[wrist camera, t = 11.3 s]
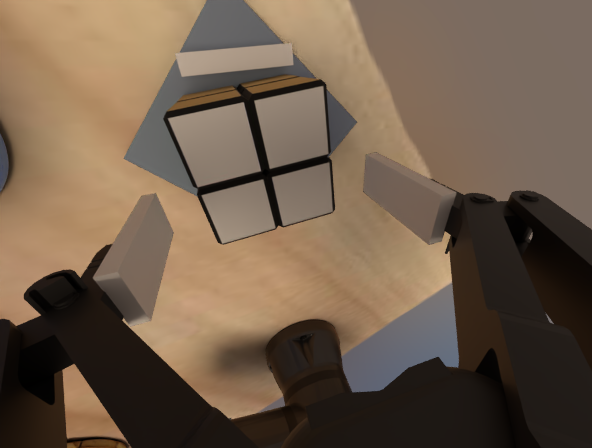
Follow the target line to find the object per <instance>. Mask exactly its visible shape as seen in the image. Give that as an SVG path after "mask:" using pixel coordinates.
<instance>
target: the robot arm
mask: <svg viewBox="0 0 592 448" xmlns="http://www.w3.org/2000/svg"><path fill="white" fill-rule="evenodd" d="M363 192H364V193H365V194H367V195H368V196H369V197H370V198H372V199H373V200H374V201H375V202H376V203H378V204H379V205H380V206H381V207H383V208H384V209H385V210H386V211H388V212H389V213H390V214H391V215H392V216H394V217H395V218H396V219H397V220H399V221H400V222H401V223H402V224H404V225H405V226H406V227H407V228H409V229H410V230H411V231H412V232H413V233H415V234H416V235H417V236H418V237H420V238H421V239H422V240H423V241H425V242H426V243H427V244H428V245H430V244H434V243H437V242H441V241H442V239H443V235H444V232H445V231H446V232H447V233H449V234H450V235H451V236H450V239H449V242H448V245H447V248H446V251H445V254H447V253H448V251H450V262H451V274H452V285H453V295H454V306H455V317H456V329H457V341H458V352H459V366H458V368H457V367H446V366H445V365H444V364H443V362H442V361H441V359H440V358H439V357H436V358H434V359H431V360H428V361H425V362H423V363H420V364H417V365H415V366H412V367H409V368H408V369H406V370H405V371H404V372H403V373H402V374H401V375H400V376H398V377H397V378H396V379H395V380H394V381H392V382H391V383H390V384H389V385H388V386H386V387H385V388H384V389H383V390H380V391H372V392H354V393H352V391H351V388H350V386H349V383H348V381H347V379H346V376H345V374H344V371H343V366H342V358H341V351H340V341H339V337H338V335H337V333H336V330H335V328H334V327H333V326H332V325H331V324H330V323H328V322H325V321H320V320H310V321H304V322H300V323H297V324H294V325H292V326H289V327H287V328H286V329H284V330H282V331H281V332H279V333H278V334H277V335H276V336H274V337H273V338H272V340H271V341H270V342H269V344H268V345H267V348H266V359H267V364H268V367H269V369H270V371H271V372H272V373H273V375H274V378H275V380H276V382H277V384H278V386H279V388H280V390H281V391H282V393H283V397H284V401H285V406H284V407H280V408H276V409H272V410H268V411H264V412H261V413H256V414H252V415H248V416H244V417H240V418H236V419H231V418H227V417H226V416H225V415H224V414H223V413H222V412H221V411H220V410H218V409H217V408H215V407H212V406H211V405H209V404H208V403H207V402H206V401H205V400H204V399H203V398H202V397H201V396H200V395H199V394H198V393H197V392H196V391H195V390H194V389H193V388H192V387H191V386H190V385H188V384H187V383H186V382H185V381H184V380H183V379H182V378H181V377H180V376H179V375H178V374H177V373H176V372H175V371H174V370H173V369H172V368H171V367H170V366H169V365H168V364H167V363H166V362H165V361H164V360H163V359H161V358H160V357H159V356H158V355H157V354H156V353H155V352H154V351H153V350H152V349H151V348H150V347H149V346H148V345H147V344H146V343H145V342H144V341H143V340H142V339H141V338H140V337H139V336H138V335H137V334H136V333H134V332H133V331H132V330H131V329H130V328H129V327H128V326H127V325H126V324H125V323H124V322H123V321H122V320H123V318H124V319H125V320H126V322H127V323H128V324H129V326H130V327H131V326H135V325H138V324H142V323H145V322H149V321H151V318H152V314H153V311H154V307H155V303H156V299H157V295H158V291H159V287H160V283H161V280H162V276H163V272H164V268H165V264H166V260H167V256H168V252H169V248H170V245H171V241H172V237H173V230H172V228H171V226H170V224H169V221H168V219H167V217H166V215H165V212H164V210H163V208H162V206H161V204H160V201H159V199H158V197H157V195H156V193H154V194H149V195H144V196H141V197H140V199H139V201H138V202H137V204H136V206H135V207H134V209H133V211H132V212H131V214H130V216H129V218H128V219H127V221H126V223H125V224H124V226H123V228H122V229H121V231H120V233H119V234H118V236H117V238H116V239H115V241H114V243H113V244H110V245H106V246H105V247H103V248H102V249H101V250H100V251H99V252H97V253H96V255H95V256H94V258H93V259H92V261H91V262H92V263H90V264H89V266H88V267H87V269H86V270H85V272H84V273H83V275H82V276H81V278H80V277H79V276H78V275H77V273H76V272H75V271H73V270H62V271H58V272H54V273H52V274H50V275H48V276H45V277H43V278H42V279H40V280H38V281H37V282H35V283H34V284H33V285H32V286H30V287H29V288H28V289H27V291H26V292H25V293H24V299H25V300H26V301H27V302H28V303H29V304H30V305H31V306H32V307H33V308H34V309H35V310H36V311H37V312H38V313H40V314H41V316H39V317H37V318H34V319H32V320H30V321H27V322H25V323H23V324H20V325H18V326H15V325H14V324H13V323H12V322H11V321H9V320H6V319H0V448H67V436H66V420H65V404H64V389H63V373H62V370H63V369H65V368H67V367H69V366H71V365H72V364H75V365H76V366H77V368H78V369H79V371H80V372H81V374H82V375H83V377H84V378H85V380H86V381H87V383H88V384H89V386H90V387H91V388H92V390H93V391H94V393H95V394H96V396H97V397H98V399H99V400H100V402H101V403H102V405H103V406H104V408H105V409H106V410H107V412H108V413H109V415H110V416H111V418H112V419H113V421H114V422H115V424H116V425H117V427H118V428H119V430H120V431H121V432H122V434H123V435H124V437H125V438H126V440H127V441H128V443H129V444H130V446H131V447H132V448H592V230H591V229H590V228H589V227H587V226H586V225H584V224H583V223H582V222H580V221H579V220H577V219H576V218H575V217H573V216H572V215H571V214H569V213H568V212H566V211H565V210H563V209H562V208H561V207H559V206H558V205H557V204H555V203H554V202H552V201H551V200H550V199H548V198H547V197H545V196H543V195H541V194H538V193H536V192H531V191H515V192H512V193H511V195H510V198H509V200H508V201H500V202H497V201H496V200H495V198H493V197H491V196H488V195H485V194H479V193H469V194H466V195H463V194H461V193H459V192H457V191H455V190H453V189H451V188H449V187H446V186H445V185H443V184H440V183H439V182H437V181H435V180H433V179H429V178H427V177H425V176H423V175H421V174H419V173H417V172H415V171H413V170H411V169H409V168H407V167H405V166H403V165H401V164H399V163H397V162H395V161H393V160H391V159H389V158H387V157H385V156H383V155H381V154H379V153H377V152H376V153H370V154H366V160H365V174H364V188H363ZM532 232H533V236H532V239H531V240H530V239H529V237H530V235H531V233H532ZM545 312H546V313H545ZM546 314H547V315H548V316H549V318H550V319H551V320H552V322H553V323H554V324H552V323H550V322H549V321H548V318H547V316H546Z"/></svg>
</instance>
